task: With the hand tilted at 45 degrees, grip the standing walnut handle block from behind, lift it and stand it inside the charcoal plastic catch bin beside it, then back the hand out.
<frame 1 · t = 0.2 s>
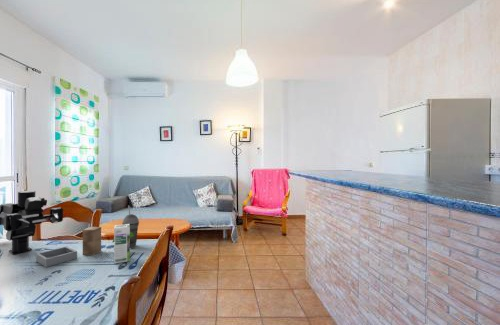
hand: (44, 222, 98), 17 cm above the table, tool horizontal, fingers open, 9 cm apart
handle block: (92, 252, 109), on the table
syrup box: (122, 260, 101), on the table
catch bin: (56, 259, 102), on the table
lemon: (123, 252, 110), on the table
beverage cup: (130, 247, 117), on the table
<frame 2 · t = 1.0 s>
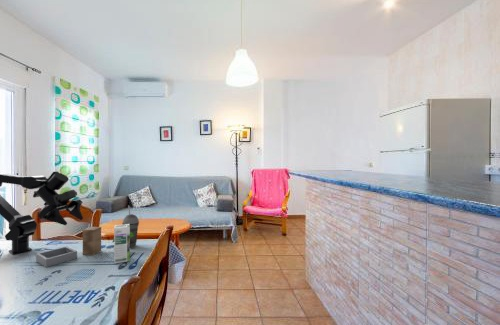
hand: (74, 221, 109), 14 cm above the table, tool tilted 45°, fingers open, 9 cm apart
nothing on the table moved.
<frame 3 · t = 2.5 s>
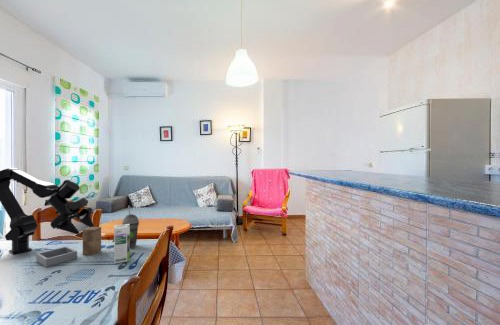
hand: (86, 230, 109), 10 cm above the table, tool tilted 45°, fingers open, 9 cm apart
nothing on the table moved.
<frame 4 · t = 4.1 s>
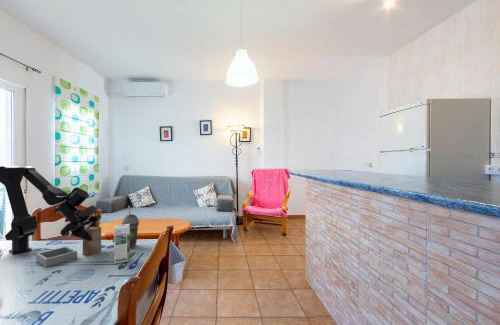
hand: (95, 238, 109), 7 cm above the table, tool tilted 45°, fingers closed on handle block, 5 cm apart
handle block: (92, 252, 109), on the table, touching gripper
everything else where it was.
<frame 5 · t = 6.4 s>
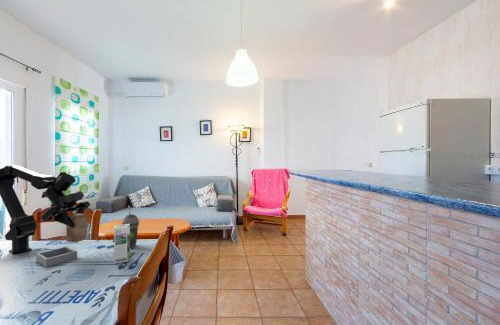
hand: (79, 225, 105), 14 cm above the table, tool tilted 45°, fingers closed on handle block, 5 cm apart
handle block: (76, 240, 105), point 7 cm above the table, touching gripper
everything else where it was.
when the fingers open (8 cm above the table, at t = 8.7 s): handle block drops 1 cm, resting on catch bin.
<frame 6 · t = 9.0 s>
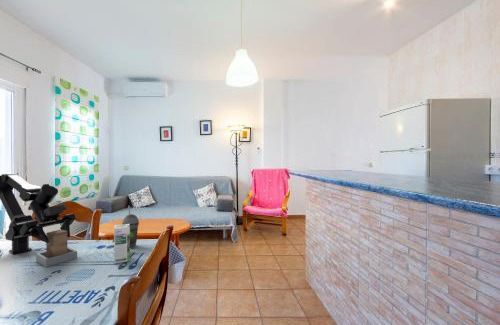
hand: (59, 239, 101), 9 cm above the table, tool tilted 45°, fingers open, 8 cm apart
handle block: (56, 258, 102), point 1 cm above the table, touching catch bin
everything else where it was.
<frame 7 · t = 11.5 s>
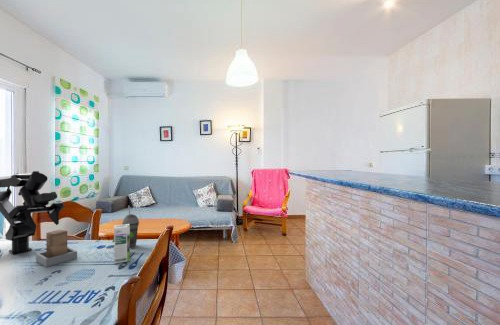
hand: (46, 226, 103), 13 cm above the table, tool tilted 40°, fingers open, 9 cm apart
nothing on the table moved.
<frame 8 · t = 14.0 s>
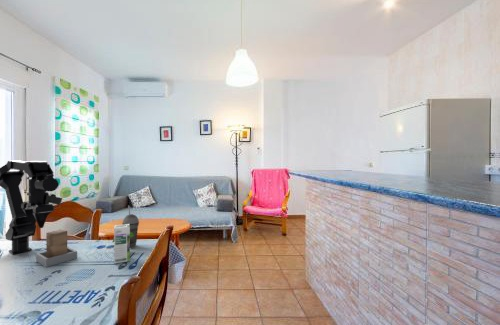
hand: (37, 226, 105), 13 cm above the table, tool pointing down, fingers open, 9 cm apart
nothing on the table moved.
at the end: handle block 0.0 cm off-centre on the catch bin, point 0.6 cm above the catch bin's base; handle block tilted 0°; the gripper is holding nothing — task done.
